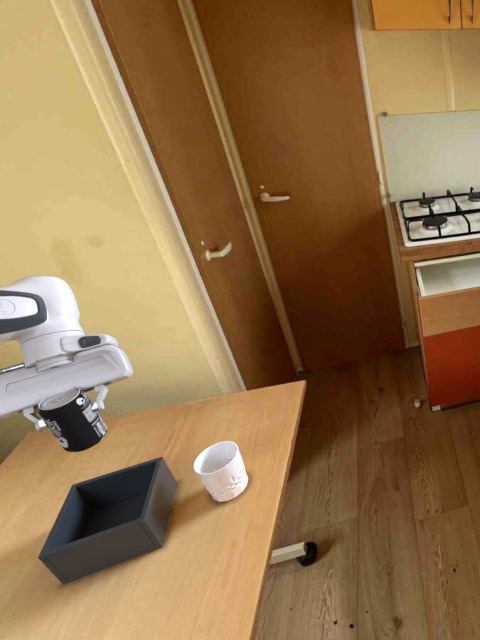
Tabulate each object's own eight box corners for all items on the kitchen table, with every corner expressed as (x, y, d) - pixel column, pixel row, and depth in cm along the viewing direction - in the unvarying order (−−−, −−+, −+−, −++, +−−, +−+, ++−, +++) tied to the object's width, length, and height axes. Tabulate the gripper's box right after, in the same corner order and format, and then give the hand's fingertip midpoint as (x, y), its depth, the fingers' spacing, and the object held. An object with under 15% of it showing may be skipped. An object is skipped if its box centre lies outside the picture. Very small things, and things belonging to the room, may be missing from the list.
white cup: (238, 464, 97) (225, 435, 92) (258, 481, 93) (245, 451, 88) (202, 493, 91) (185, 462, 86) (221, 512, 87) (205, 481, 82)
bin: (63, 584, 75) (37, 557, 71) (92, 511, 87) (71, 484, 83) (162, 546, 81) (144, 519, 77) (177, 482, 93) (162, 456, 89)
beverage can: (56, 450, 83) (24, 407, 78) (93, 424, 89) (65, 382, 83) (82, 457, 82) (51, 414, 76) (117, 430, 87) (91, 388, 82)
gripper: (-31, 372, 76) (-17, 446, 74) (116, 331, 87) (133, 395, 84) (-9, 376, 81) (4, 445, 79) (127, 337, 92) (142, 397, 90)
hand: (72, 419), depth 82 cm, fingers closed on beverage can, 6 cm apart
